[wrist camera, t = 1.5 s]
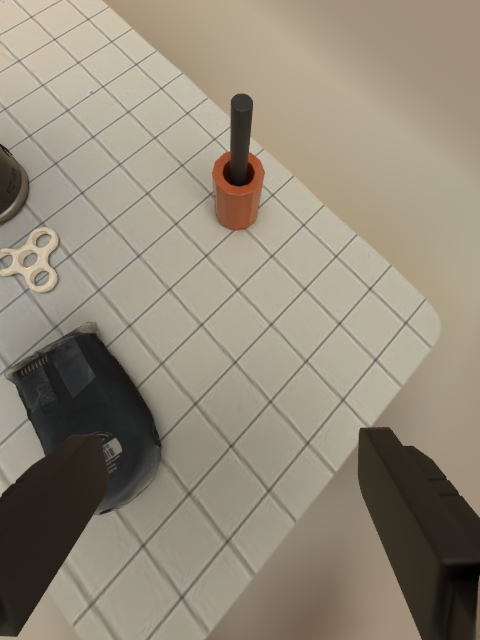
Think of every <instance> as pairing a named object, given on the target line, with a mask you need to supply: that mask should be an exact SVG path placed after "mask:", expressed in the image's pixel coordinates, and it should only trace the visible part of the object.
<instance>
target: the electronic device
mask: <svg viewBox="0 0 480 640" xmlns="http://www.w3.org/2000/svg"><path fill="white" fill-rule="evenodd" d="M99 334H100V333H99V331H98V328H97V323H96V322H87V323H85V324H84V325H82V326H80V327H79V328H77V329H75V330H73V331H72V332H70V333H68V334H66V335H65V336H63V337H62V338H60V339H58V340H57V341H55V342H53V343H51V344H49V345H47V346H45V347H44V348H42V349H41V350H38V351H36V352H34V354H33V355H32V356H29V357H27V358H25V359H23V360H22V361H21V362H19V363H17V364H16V365H14V366H12V367H11V368H9V369H8V370H7V371H5V373H4V376H5V377H6V379H8V380H9V381H11V382H12V383H14V384H15V385H16V388H17V390H18V393H19V396H20V398H21V400H22V402H23V404H24V406H25V408H26V410H27V416H28V418H29V420H30V421H31V422H32V425H33V427H34V429H35V431H36V434H37V436H38V438H39V439H40V442H41V445H42V447H43V450H44V454H45V456H47V455H48V454H50V453H52V452H53V451H54V450H55V449H56V448H57V447H58V446H59V445H60V444H61V443H62V442H63V441H64V440H65V439H66V438H67V437H69V436H70V435H79V434H97V435H98V436H99V437H100V439H101V443H102V447H103V451H104V455H105V460H106V464H107V468H108V472H109V484H108V489H107V492H106V494H105V496H104V498H103V500H102V501H101V503H100V505H99V506H98V508H97V509H96V511H95V513H94V514H93V515H99V516H100V515H102V514H105V513H108V512H111V511H113V510H115V509H121V508H123V507H124V506H125V505H126V504H128V503H129V502H130V501H132V500H133V499H134V498H135V497H137V496H138V495H139V494H140V493H141V492H142V491H143V490H145V489H146V488H147V487H148V485H149V484H150V483H151V481H152V479H153V478H154V475H155V473H156V471H157V468H158V464H159V461H160V456H161V443H160V441H159V435H158V432H157V430H156V427H155V422H154V420H153V417H152V415H151V412H150V410H149V408H148V407H147V405H146V403H145V402H144V400H143V398H142V397H141V395H140V393H139V392H138V390H137V389H136V387H135V385H134V384H133V382H132V381H131V380H130V378H129V376H128V375H127V374H126V372H125V371H124V369H123V368H122V367H121V365H120V364H119V362H118V361H117V360H116V359H115V358H114V357H113V356H112V355H110V353H109V352H108V351H107V349H106V348H105V346H104V344H103V343H102V342H101V341H100V339H99V338H98V335H99Z"/></svg>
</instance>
